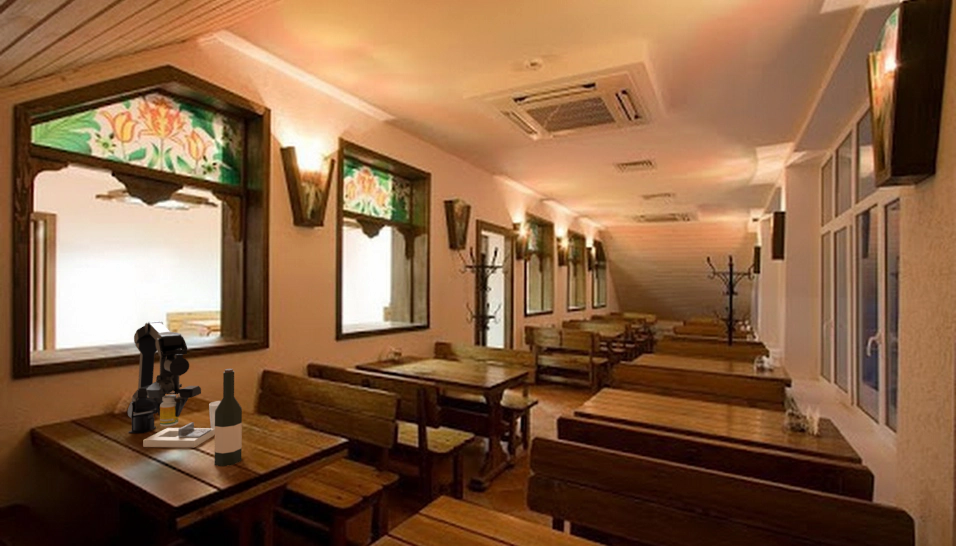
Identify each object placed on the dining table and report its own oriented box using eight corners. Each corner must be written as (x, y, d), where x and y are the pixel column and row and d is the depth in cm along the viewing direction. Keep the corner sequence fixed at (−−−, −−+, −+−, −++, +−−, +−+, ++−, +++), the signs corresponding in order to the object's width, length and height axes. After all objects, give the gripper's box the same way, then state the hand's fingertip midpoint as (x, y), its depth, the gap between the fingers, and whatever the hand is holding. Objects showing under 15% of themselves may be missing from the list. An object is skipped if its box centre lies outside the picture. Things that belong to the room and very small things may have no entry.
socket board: (143, 446, 167) (143, 439, 167) (167, 434, 180) (167, 427, 180) (194, 447, 167) (194, 440, 167) (214, 434, 180) (215, 428, 180)
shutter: (178, 437, 170) (178, 428, 170) (191, 430, 178) (191, 422, 178) (199, 437, 170) (199, 429, 170) (211, 430, 178) (211, 422, 178)
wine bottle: (220, 456, 159) (221, 366, 159) (246, 455, 160) (247, 366, 160) (208, 466, 151) (209, 372, 151) (236, 466, 152) (236, 372, 152)
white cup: (235, 425, 191) (236, 400, 191) (223, 432, 184) (223, 406, 183) (217, 424, 192) (217, 399, 192) (204, 431, 184) (204, 405, 184)
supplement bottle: (161, 422, 164) (161, 395, 164) (179, 420, 166) (179, 393, 166) (158, 427, 159) (158, 398, 159) (177, 425, 161) (177, 397, 161)
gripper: (124, 375, 155) (124, 423, 155) (182, 376, 155) (181, 424, 155) (148, 368, 166) (148, 413, 166) (202, 369, 166) (201, 414, 166)
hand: (169, 416), depth 163 cm, fingers closed on supplement bottle, 5 cm apart
